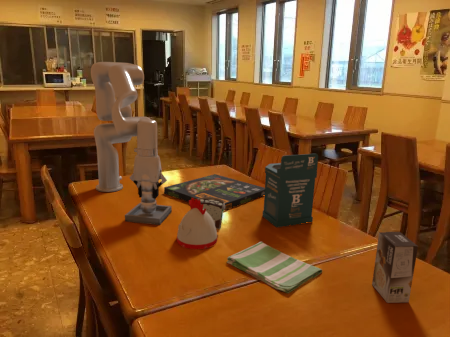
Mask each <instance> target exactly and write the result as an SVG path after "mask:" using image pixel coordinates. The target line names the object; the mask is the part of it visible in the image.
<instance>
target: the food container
mask: <svg viewBox="0 0 450 337" xmlns="http://www.w3.org/2000/svg"><path fill="white" fill-rule="evenodd" d="M198 200H200V201H201V205H202V204H204V205H203V209H206V211H207V212H208V214H209V215H210V216H211V217H212V219H213V220H215V227H216V230H220V229H221V228H222V223H223V222H222V221H223V215H224V211H223V210H224V209H225V203H224V201H223V200H222V199H219V198H215V197H202V198H198Z"/></svg>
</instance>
